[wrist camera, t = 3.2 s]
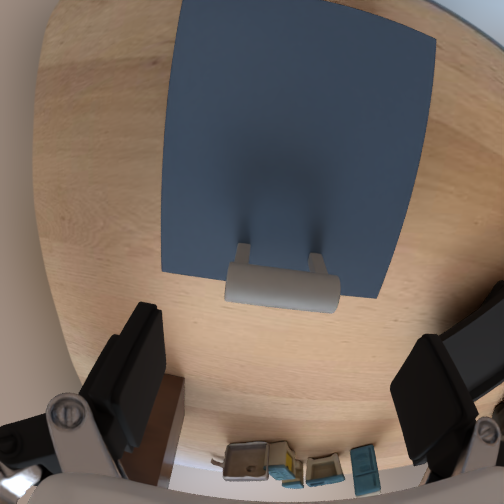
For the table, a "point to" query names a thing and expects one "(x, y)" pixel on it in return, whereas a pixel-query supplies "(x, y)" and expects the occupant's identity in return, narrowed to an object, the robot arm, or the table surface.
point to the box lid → (291, 148)
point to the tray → (480, 345)
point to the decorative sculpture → (245, 462)
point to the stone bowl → (499, 418)
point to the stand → (159, 437)
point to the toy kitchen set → (324, 469)
